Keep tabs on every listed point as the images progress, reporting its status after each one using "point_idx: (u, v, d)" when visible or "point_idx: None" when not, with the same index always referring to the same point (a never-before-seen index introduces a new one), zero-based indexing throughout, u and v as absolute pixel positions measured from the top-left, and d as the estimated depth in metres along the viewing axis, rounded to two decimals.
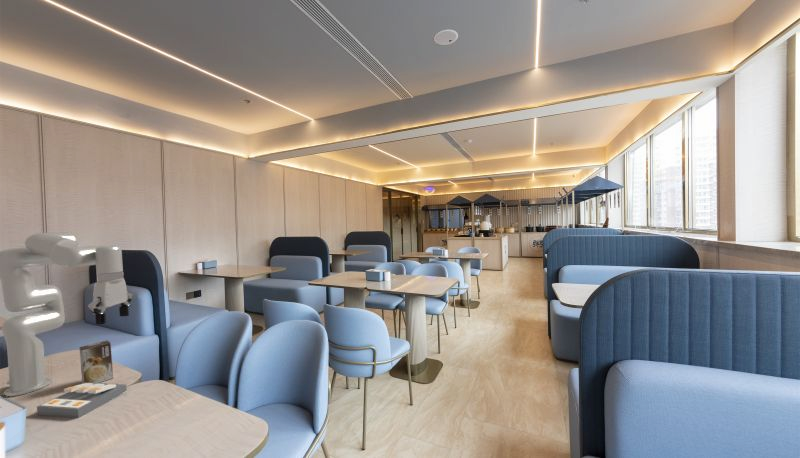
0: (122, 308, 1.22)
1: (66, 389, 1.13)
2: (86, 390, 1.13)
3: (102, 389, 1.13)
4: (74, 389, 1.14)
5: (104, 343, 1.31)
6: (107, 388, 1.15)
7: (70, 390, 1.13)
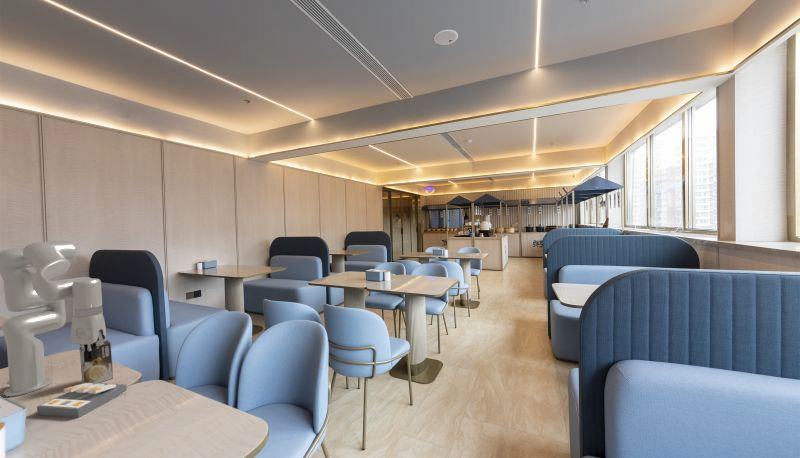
0: None
1: (66, 389, 1.13)
2: (86, 390, 1.13)
3: (102, 389, 1.13)
4: (74, 389, 1.14)
5: (104, 343, 1.31)
6: (107, 388, 1.15)
7: (70, 390, 1.13)
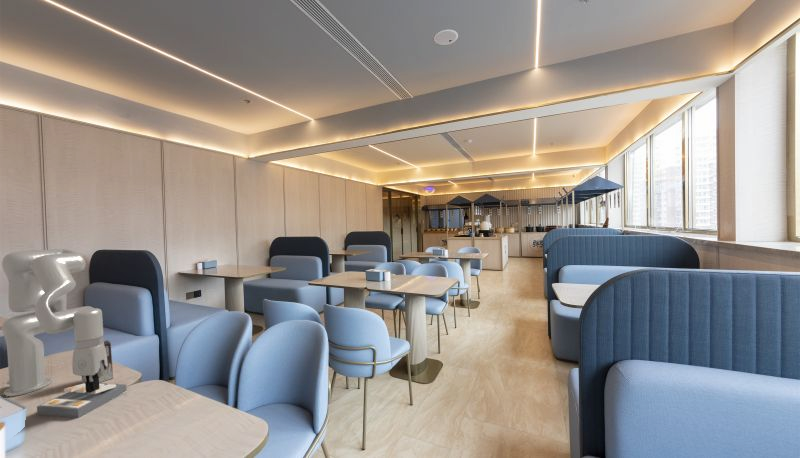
0: None
1: (66, 389, 1.13)
2: None
3: (102, 389, 1.13)
4: (74, 389, 1.14)
5: (104, 343, 1.31)
6: (107, 388, 1.15)
7: (70, 390, 1.13)
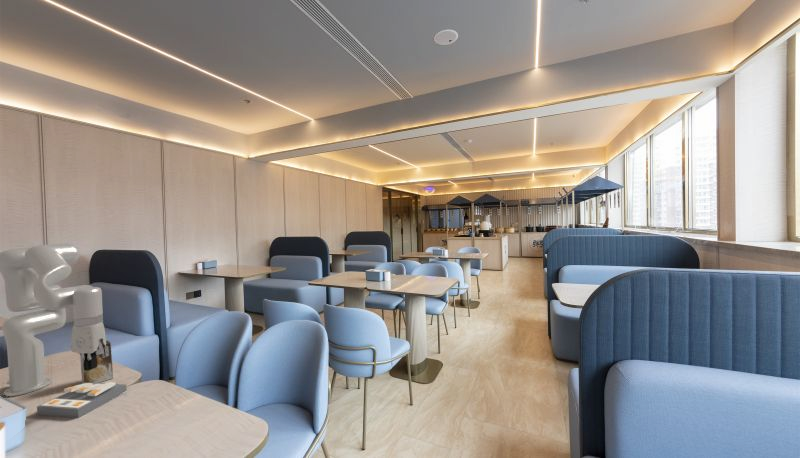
0: None
1: (66, 389, 1.13)
2: (86, 390, 1.13)
3: (101, 390, 1.13)
4: (74, 389, 1.14)
5: None
6: (107, 388, 1.15)
7: (70, 390, 1.13)
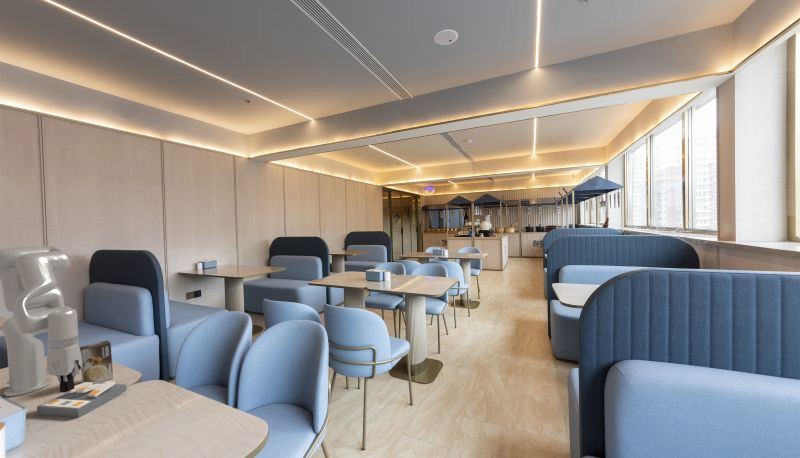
0: None
1: None
2: (86, 390, 1.13)
3: (101, 391, 1.13)
4: (74, 390, 1.14)
5: (104, 343, 1.31)
6: (106, 388, 1.15)
7: (70, 391, 1.13)
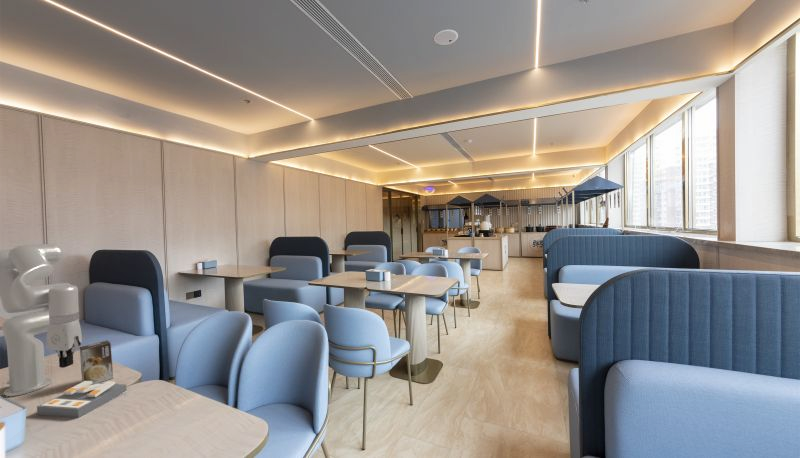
0: None
1: (65, 392, 1.13)
2: (86, 390, 1.13)
3: (101, 391, 1.13)
4: (73, 391, 1.13)
5: (104, 343, 1.31)
6: (106, 388, 1.15)
7: (69, 393, 1.13)
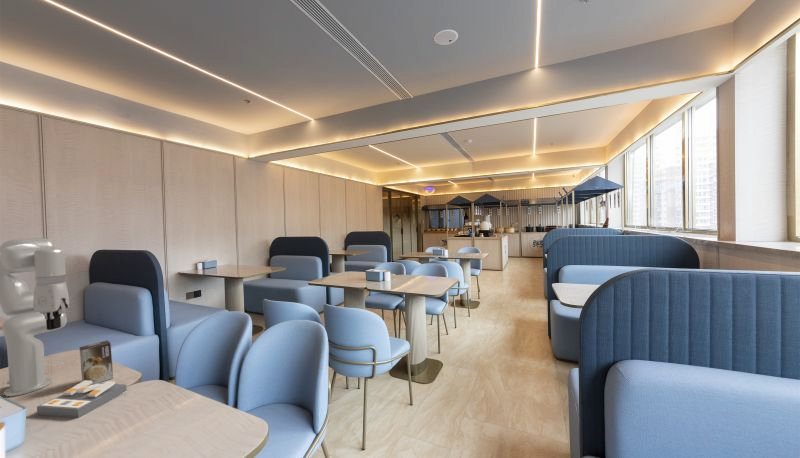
0: None
1: (65, 392, 1.13)
2: (86, 390, 1.13)
3: (101, 391, 1.13)
4: (73, 392, 1.13)
5: (104, 343, 1.31)
6: (106, 388, 1.15)
7: (69, 393, 1.13)
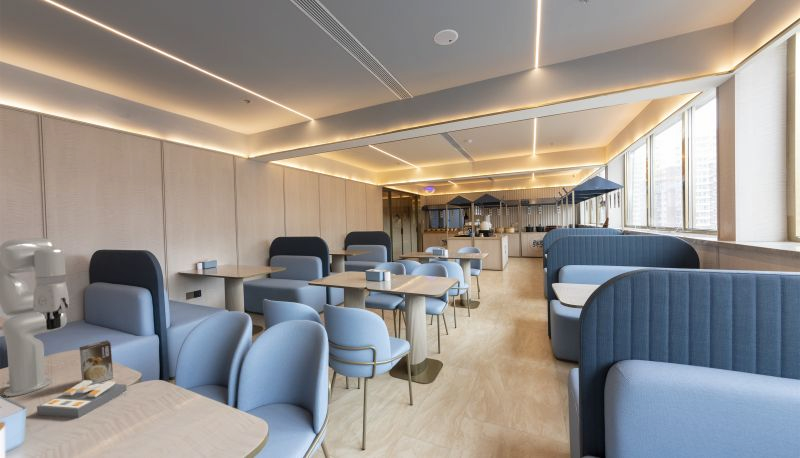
0: None
1: (65, 393, 1.13)
2: (86, 390, 1.13)
3: (101, 391, 1.13)
4: (73, 392, 1.13)
5: (104, 343, 1.31)
6: (106, 388, 1.15)
7: (69, 394, 1.13)
